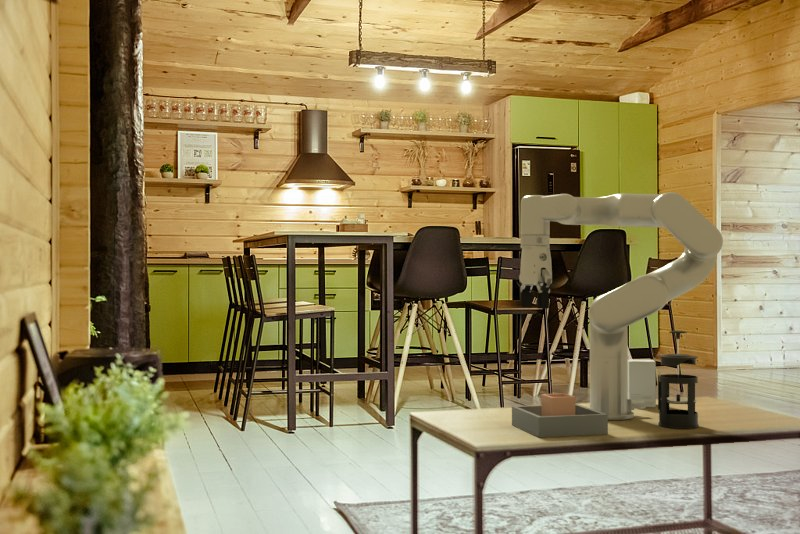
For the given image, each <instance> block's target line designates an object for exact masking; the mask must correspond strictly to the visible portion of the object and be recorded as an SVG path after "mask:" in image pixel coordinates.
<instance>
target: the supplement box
mask: <svg viewBox="0 0 800 534" xmlns="http://www.w3.org/2000/svg"><path fill="white" fill-rule="evenodd" d="M656 365H657V363H656V361H655V360H654V359H641V358H640V359H637V358H636V359H635V358H634V359H633V358H632V359H628V399H631V400H632V401H635V402H637V401H644V402H645V404H646V406H645V408H656V407H657V405H656V404H657V394H656V392H657V390H656V389H657V387H656V386H657V384H656V383H657V382H656V379H657V378H656V374H657V373H656V370H657V369H656Z"/></svg>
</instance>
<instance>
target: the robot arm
mask: <svg viewBox="0 0 800 534" xmlns="http://www.w3.org/2000/svg"><path fill="white" fill-rule="evenodd" d="M551 222H554V223H555V222H557V223H559V224H561V225H566V226H567V225H568V226H569V225H571V226H579V225H580V226H605V227H606V226H607V227H613V228H614V227H622V228H623V227H625V228H626V227H629V228H631V227H632V228H635V227H636V228H637V227H639V228H665V229H666V230H667V232H669V233H670V234H671V236H672V237H674V238H675V239H676V240H677V241H678V242H679V243H680V244H682V246H683V247H684V249H683V253H682V254H681V255H680V256H679V257H678V258H677V259H675V260H672V261H671V262H669V263H667V264H666V265H664V266H662V267H660V268H657V269H655V270H653V271H652V272H649V273H647V274H646V273H645V274H643V275H639V276H638V277H636V278H635V279H633V280H630V281H628V282H627V283H625V284H623V285H621V286H619V287H616V288H615V289H612V290H611V291H608V292H606V293H603V294H600V295H598V296H596V297H595V298H594V299H593V301H592V302H591V303H590V305H589V309H588V317H589V408H590V409H593V410H596V411H599V412H602V413H605V414H608V421H618V420H619V421H622V420H623V421H624V420H630V419H633V418H634V417H635V412H633V411H634V410H635V409H638V410H640V409H645V408H646V407H645V406H646V404H645V402H644V401H637V402H635V401H632V400H631V399H628V353H629V349H628V347H629V345H628V344H629V342H628V334H629V333H628V326H629V327H630V326H631V325H633V324H635V323H637V322H640V321H641V320H643V319H645V318H647V317H649V316H652V315H653V314H655V313H657V312H660V311H661V310H662V309H663V308H664V307H665V306H666V304H667V303H668V302H671V301H672V300H675V299H676V298H679V297H681V296H682V295H684V294H686V293H688V292H690V291H692V290H693V289H695V288H697V287H698V286H700V285H701V284H702V283H704V282H705V281H706V280H707V279H708V278H709V277H710V275H711V273H712V271H713V270H714V268H715V265H716V262H717V258H718V254H719V253H720V252H721V250H722V248H723V246H724V244H723V243H724V240H723V235H722V233H721V231H720V230H719V229H718V228H717V227H716V225H714V224H713V223H712V222H711V221H710V220H709V219H708V218H707V217H706V216H705V215H703V213H702V212H700V211H699V210H698V209H697V208H695V206H694V205H693V204H691V202H690V201H688V200H687V199H686V198H685V197H684V196H683V195H682V194H679V193H678V192H674V191H673V192H672V191H669V192H664V193H661V194H659V193H654V194H653V193H615V194H611V195H607V196H599V197H597V196H596V197H595V196H593V197H589V196H586V197H584V196H581V197H580V196H573V195H571V194H569V193H560V194H550V195H542V194H541V195H540V194H532V195H524V196H523V197H522V198H521V201H520V249H521V256H520V268H519V269H520V270H519V271H520V273H519V275H518V279H519V287H520V289H519V291H520V307H522V308H532V307H533V299H534V298H533V291H532V289H533V287H534V286H536V288H537V291H538V292H536V308H537V309H542V310H543V309H545V310H547V309H550V293H551V286H552V283H553V270H552V268H553V266H552V256H551V250H550V248H551V247H550V244H551V243H550V240H551V239H550V234H551V233H550V230H551V229H550V225H551V224H550V223H551Z"/></svg>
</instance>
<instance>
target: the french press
mask: <svg viewBox="0 0 800 534" xmlns="http://www.w3.org/2000/svg"><path fill="white" fill-rule="evenodd" d="M668 333H669V334H675V339H676V340H677V341H676V344H677V345H676V346H677V347H676V349H677V352H676V353H667V354H660V355H658V358H660V365H661V366H665V367H677V373H676V374H675V373H667V374H666V373H665V374H658V375H657V410H658V411H659V412H658V413H659V414H658V415H659V416H658V419H659V421H658V424H657V425H658V427H662V428H664V429H666V428H667V429H671V430H693V429H698V428H699V427H700V425H699V413H698V411H696V402H697V398H696V384H697V383H698V381H699V380H698V379H699V377H698V376H697V375H692V374H683V373H682V374H680V365H681V364H683V365H684V364H685V365H693V366H697V365H696V364H697V359H698V356H697V355H691V354H688V353H687V354H685V353H680V339H681V334H688V331H684V330H671V331H669V332H668ZM670 384H673V385H675V384H676V385H677V393H676V396H670ZM680 385H687V397H685V396H683V397H682V396H681V394H680ZM670 404H673V405H687V409H678V408H677V409H676V408H673V409H672V408H670Z"/></svg>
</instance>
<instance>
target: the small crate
mask: <svg viewBox="0 0 800 534" xmlns="http://www.w3.org/2000/svg"><path fill="white" fill-rule="evenodd" d="M540 395H541V405H542V416H565V415H575V404H576V396H574V395H571V394H567V393H565V392H564V393H543V394H542V393H541V394H540Z"/></svg>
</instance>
